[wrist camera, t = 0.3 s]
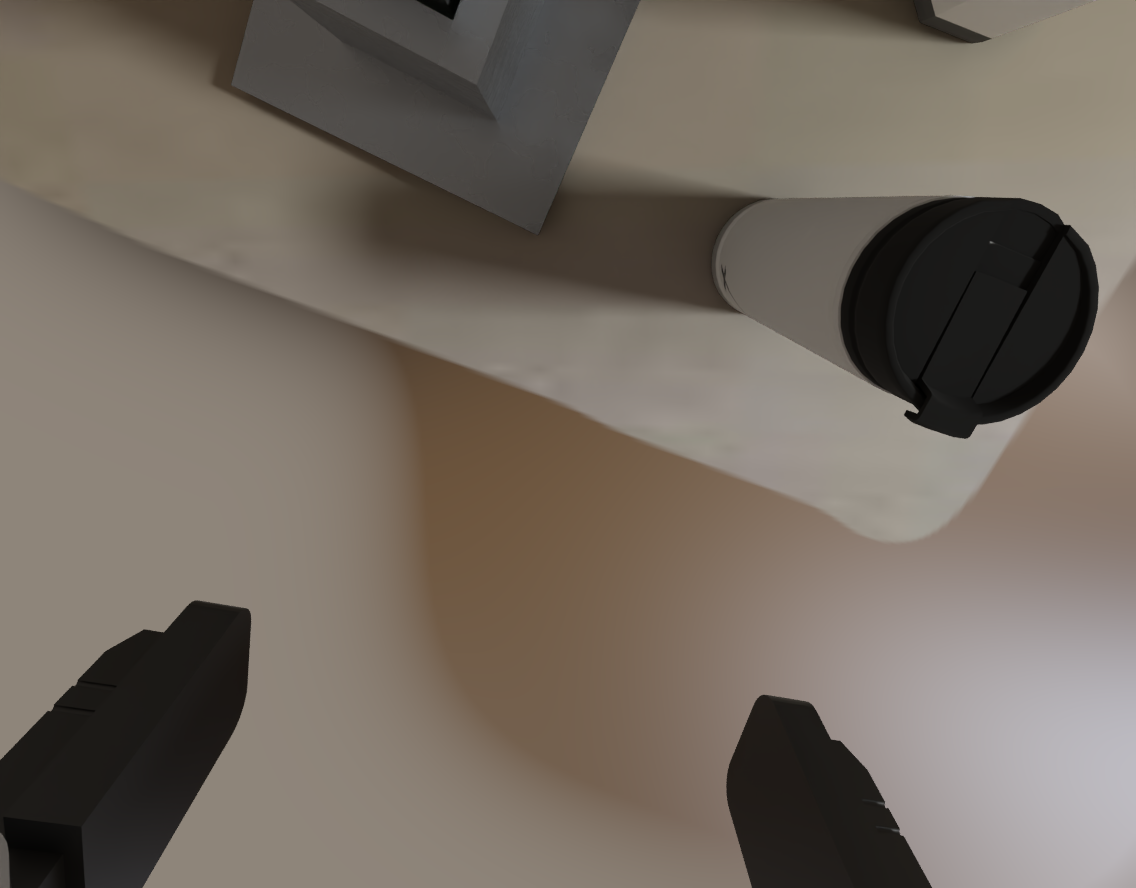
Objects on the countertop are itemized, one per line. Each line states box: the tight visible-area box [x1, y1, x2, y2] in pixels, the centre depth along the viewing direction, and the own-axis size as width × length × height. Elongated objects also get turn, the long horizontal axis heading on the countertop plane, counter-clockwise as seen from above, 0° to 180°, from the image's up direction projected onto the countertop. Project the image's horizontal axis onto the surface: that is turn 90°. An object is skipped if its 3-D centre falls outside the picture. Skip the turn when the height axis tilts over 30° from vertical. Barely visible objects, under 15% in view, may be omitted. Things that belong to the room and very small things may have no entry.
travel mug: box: [711, 195, 1099, 439], centre depth 27 cm, size 6×7×20 cm
